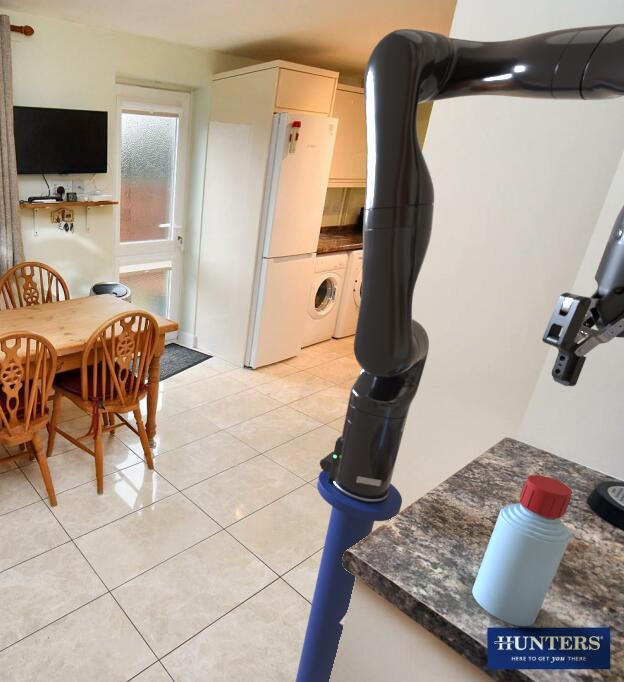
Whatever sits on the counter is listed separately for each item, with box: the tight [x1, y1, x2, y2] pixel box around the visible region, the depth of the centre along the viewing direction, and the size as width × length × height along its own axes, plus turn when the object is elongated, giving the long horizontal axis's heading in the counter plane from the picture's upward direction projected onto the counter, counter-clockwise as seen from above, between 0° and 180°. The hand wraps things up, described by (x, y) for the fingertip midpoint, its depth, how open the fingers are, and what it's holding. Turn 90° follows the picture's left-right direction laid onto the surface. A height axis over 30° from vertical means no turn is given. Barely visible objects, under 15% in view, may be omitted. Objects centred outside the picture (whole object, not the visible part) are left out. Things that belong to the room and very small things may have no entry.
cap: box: [518, 474, 573, 519], centre depth 53 cm, size 4×4×3 cm
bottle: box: [471, 502, 571, 627], centre depth 56 cm, size 6×6×18 cm
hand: (603, 385), depth 51 cm, fingers open, 8 cm apart
